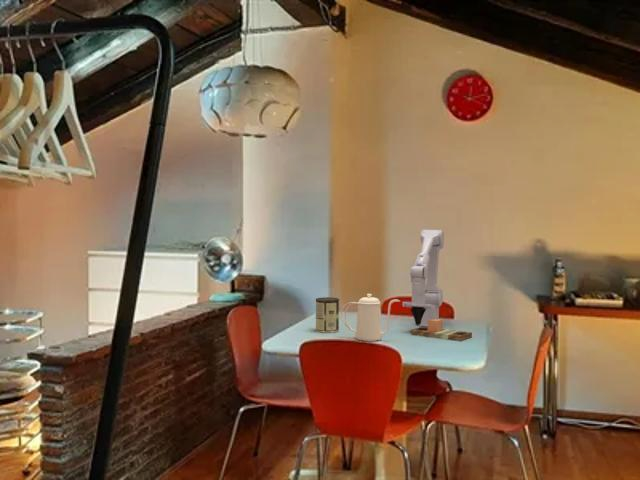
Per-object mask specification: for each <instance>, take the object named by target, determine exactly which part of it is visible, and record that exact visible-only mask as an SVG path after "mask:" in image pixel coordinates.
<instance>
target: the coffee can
mask: <svg viewBox="0 0 640 480" xmlns="http://www.w3.org/2000/svg"><path fill="white" fill-rule="evenodd" d="M339 303H340V298H338V297H326V296H325V297H317V298H315V331H316V332H318V333H322V334H323V333H325V334H326V333H327V334H331V333H337V332H338V333H339V330H340V329H339V328H340V325H339V324H340V321H339V320H340V319H339V318H340V315H339V314H340V313H339V311H340V307H339V306H340V304H339Z"/></svg>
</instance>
